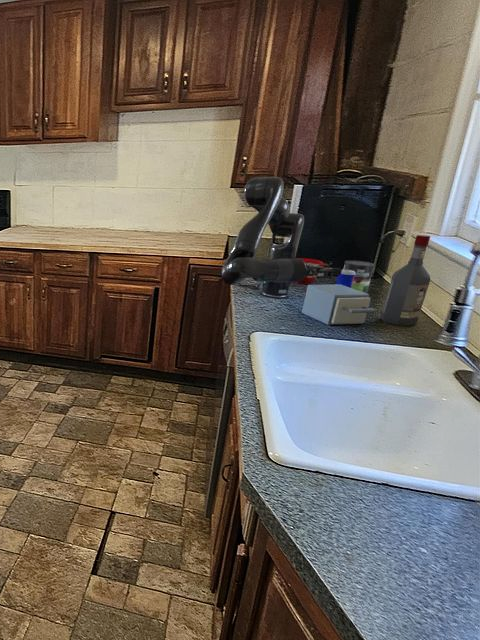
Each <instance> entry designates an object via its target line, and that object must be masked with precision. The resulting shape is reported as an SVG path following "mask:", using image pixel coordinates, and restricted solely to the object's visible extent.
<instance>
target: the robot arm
mask: <svg viewBox="0 0 480 640" xmlns="http://www.w3.org/2000/svg"><path fill="white" fill-rule="evenodd" d="M284 184H285V183H284V180H283V178H282V177H280V176H256V177H252V178H250V179H249V180H248V181H247V182H246V184H245V186H244V191H243V192H244V199H245V202H246V204H247V205H249V207H252V208H253V209H255V211H256V212H257V213H256V214H255V215H254V216H253V217H252V218H251V219H250V220H248V221H247V222H246V223H245V224H244V225H242V227H241V228H240V230H239V232H238V234H237V236H236V239H235V241H234V245H233V247H232V249H231V252H230V253H229V255H228V257H227V259H226V261H225V262H224V264H223V266H222V268H221V274H220V275H221V276H220V277H221V280H222V281H223V282H224V284H226V285H228V286H236V285H238V286H241V287H249V288H254V290H259V288H260V287H262V289H261V294H262V295H263V296H265V297H268V298H274V299H285V298H287V297H288V294H289V293H288V292H289V288H290V283H295V282H299V281H301V280H302V279H303V278H304V277H305V276H306V277H309V278H311V277H316V280H319V279H330V278H333V276H338V275H341V272H342V268H340V267H331V265H330V264H328V265H319V264H313V263H305V262H304V261H303V260H302V259H295V258H297V257H296V256H297V252H298V248H299V244H300V239H301V235H302V232H303V228H304V224H305V216H304V215H303V214H302V213H296V212H295V213H293V212H291V207H290V204H289V202H288V200H287V199H286V198H285V197H284V196H283V194H284V189H285V188H284V187H285V185H284ZM267 226H268V227H269V229H270V233H272V235H273V236H276V237H281V238H288V240H287V241H286V242H283V243H280V244H275V245H272V246H271V248H270V254H269V259H260V258H256V257H254V256H255V255H256V253H257V250H258V248H259V245H260V242H261V239H262V237H263V234H264V232H265V230H266V228H267ZM249 278H250V279H252V280H253V281H254V282H259V283H258V284H257V285H254V284H243V283H242V282H243V281H245V280H246V279H249Z"/></svg>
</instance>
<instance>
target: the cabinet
mask: <svg viewBox="0 0 480 640" xmlns="http://www.w3.org/2000/svg"><path fill="white" fill-rule="evenodd" d="M336 297H363V298H364V297H369V298H370V294H369V293H368V292H367V293H364V292H361V291H358V290H355V289H352V288H349V287H346V286H344V285H341V284H336V283H335V284H307V287H306V291H305V296H304V299H303V300H304V301H303V304H302V309H301V313H302V314H303V315H305V316H308V317H310V318H312V319H314V320H317V321H319V322H320V323H323V324H325V325H328V326H330V325H331V326H332V325H334V326H335V325H337V324H333V323H331V317H332V313H333V309H334V305H335V301H336ZM362 324H363V323H340V324H339V325H362Z"/></svg>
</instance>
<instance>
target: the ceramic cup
mask: <svg viewBox="0 0 480 640" xmlns="http://www.w3.org/2000/svg"><path fill="white" fill-rule="evenodd" d="M295 259H302V260H303V261H304V262H305V263H313V264H319V265H329V264H328V263H324V262H323V261H322V260H318V259H315V258H314V259H313V258H304V257H303V258H301V257H299V258H297V257H295ZM315 280H317V278H316V277H311V278H309V277H306V276H305V277H304V278H303V279H302V280H301V281H299V282H294V284H299V285H311V284H312V283H313V282H314V281H315Z"/></svg>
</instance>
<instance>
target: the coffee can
mask: <svg viewBox="0 0 480 640" xmlns="http://www.w3.org/2000/svg"><path fill="white" fill-rule="evenodd" d="M375 266H376V264H375V263H373V262H369V261H362V260H345V261H344V266H343V269H346V270H353V271H355V276H354V280H353V284H352V289H355V290H358V291H361V292H364V293H367V294H368V291H369V286H370V283H371V279H372V276H373V273H374V269H375Z"/></svg>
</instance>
